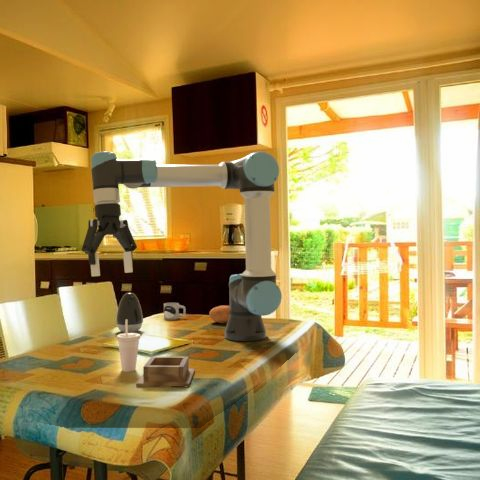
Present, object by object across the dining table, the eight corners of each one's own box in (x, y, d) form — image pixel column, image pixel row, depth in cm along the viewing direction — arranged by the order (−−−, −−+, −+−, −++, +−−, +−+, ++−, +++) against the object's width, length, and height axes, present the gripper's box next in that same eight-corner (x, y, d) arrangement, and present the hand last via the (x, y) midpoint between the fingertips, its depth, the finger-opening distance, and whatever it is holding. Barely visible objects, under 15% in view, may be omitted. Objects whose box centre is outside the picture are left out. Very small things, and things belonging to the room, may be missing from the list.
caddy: (194, 371, 129) (194, 355, 129) (188, 386, 116) (188, 368, 116) (147, 371, 129) (147, 355, 129) (136, 386, 116) (135, 368, 116)
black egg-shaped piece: (119, 335, 176) (119, 294, 176) (113, 330, 185) (113, 291, 185) (146, 332, 181) (146, 293, 180) (139, 328, 190) (138, 290, 190)
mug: (161, 319, 209) (161, 304, 209) (166, 317, 216) (166, 302, 216) (183, 320, 207) (183, 305, 207) (187, 317, 214) (187, 302, 214)
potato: (231, 325, 194) (231, 307, 194) (206, 324, 197) (206, 306, 197) (238, 321, 203) (238, 304, 203) (213, 320, 206) (213, 303, 206)
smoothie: (119, 367, 134) (118, 317, 133) (142, 366, 134) (141, 317, 134) (115, 373, 127) (114, 321, 127) (139, 372, 128) (138, 321, 128)
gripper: (126, 207, 155) (132, 271, 154) (65, 203, 133) (70, 278, 132) (144, 204, 151) (150, 270, 150) (83, 200, 129) (89, 277, 129)
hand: (113, 274), depth 141 cm, fingers open, 13 cm apart
